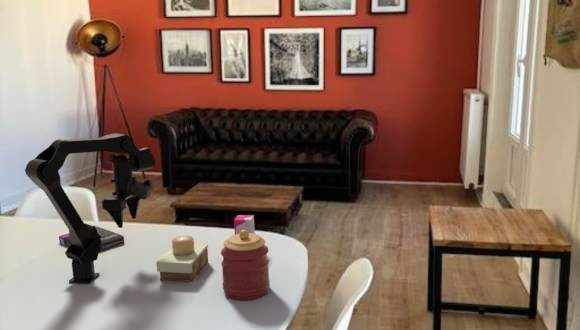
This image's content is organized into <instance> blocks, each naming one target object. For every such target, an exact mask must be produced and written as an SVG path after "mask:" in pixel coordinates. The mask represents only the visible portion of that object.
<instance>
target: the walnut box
mask: <svg viewBox="0 0 580 330" xmlns="http://www.w3.org/2000/svg"><path fill="white" fill-rule="evenodd" d="M207 265H209V251H208V248H207V249H206V250H205V251H204V252H203V253H202V254H201V255H200V256H199V258H198V259H197V260H196V261H195V262H194V263H193V264H192V270H193V272H192V273H175V272H159V277H160V279H159V280H161V281H176V282H177V281H178V282H179V281H180V282H194V281H195V280H196V278H197V277H198V276H199V275H200V274H201V272H203V270H204V269H205V267H206V266H207Z"/></svg>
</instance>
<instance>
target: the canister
mask: <svg viewBox="0 0 580 330" xmlns="http://www.w3.org/2000/svg"><path fill="white" fill-rule="evenodd" d="M223 246H224V247H223V248H222V249H221V250H220V254H221V256H222V261H221V268H222V269H221V270H222V289H223V293H224V295H225V296H226V297H228V298H230V299H233V300H238V301H250V300H251V301H252V300H255V299H258V298H259V299H260V298H262V297H263V296H265V295H266V294H268V293H269V291H270V285H271V283H270V282H271V281H270V273H269V270H270V269H269V263H270V258H268V253H269V250H270V249H269V247H268V246H267V245H266V240H265V239H264V238H263V237H261V236H259V234H257V233H255V234H252V233H248V231H247V230H241V231H240V233H239V234H236V235H235V234H234V235H233V234H232V235H231V236H229V237H228V238H227V239H225V240H224V241H223Z"/></svg>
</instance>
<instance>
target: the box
mask: <svg viewBox="0 0 580 330" xmlns="http://www.w3.org/2000/svg"><path fill="white" fill-rule="evenodd" d="M93 226H94V227H95V228H96V229H97V232H98V234H99V235H100V236H102V237H101V238H100V239H101V242H102V244H101V247H100V249H99V252H101V250H102V251H105V250H108V249H112V248H114V247H117V246H121V245H123V244H125V236H124V235H122V234H119V233H117V232H114V231H111V230H108V229H106V228H102V227H99V226H98V225H93ZM58 240H59V244H61V245H63V246H65V247H67V248H69V246H70V245H71V240H70V236H69V233H66V234H63V235H62V234H61V235H59V236H58ZM104 249H105V250H104Z"/></svg>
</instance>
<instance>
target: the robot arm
mask: <svg viewBox="0 0 580 330" xmlns="http://www.w3.org/2000/svg"><path fill="white" fill-rule="evenodd" d="M94 152H95V153H97V152H107V153H109V154H108V156H107V157H106V159H105V158H104V161H105V162H106V163H111V165H112V176H113V177H112V178H111V179H110V180H111V181H110V182H111V183H113V185H114V191H112V196H111V195H110V196H108V197H106V198H104V199H103V200H102V201H101V209H102V210H104V211H106V212H107V213H108V214H109V215H110V217H111V218H112V219H113V222H114V223H115V224H116V226H117V227H118V228H119V229H120V228H121V229H122V228H123V227H124V211H125V210H126V209H127V208H128V211H129V214H130V216H131V219H136V218H137V215H138V211H139V206H140V202H141V200H147V198H150V197H151V194H152V191H154V185H153V181H152V180H151V179H146V180H144V181H138V179H137V177H136V175H134V172H140V171H145V170H150V169H153V168H154V167H155V166H156V158H155V157H154V154H153V153H152V152H151V147H143V148H140V149H139V148H138V147H137V145H136V144H135V143H134V140H133V138H132V137H131V136H130V135H128V134H123V133H122V134H121V133H116V132H115V133H110V134H106V135H103V136H100V137H98V138H94V137H93V138H77V139H55V140H53V142H52V143H51V144H50V145H49V146H48V147H47V148H45V149H44V150H42V151H41V152H39V154H37V155H36V157H34V158H33V159H30V161H28V163H27V164H26V166H25V169H24V171H25V174H26V176H27V178H29V180H30V181H32V182H33V184H34V185H36V186H37V188H39V189H41V190H42V191H43V192H44V193H45V195H46V196H47V199H49V202H50V203H51V204H52V205H53V207H54V208H55V210H56V212H57V214H58V216H59V217H60V218H61V220H62V221H63V223H64V224H65V226H66V227H67V229H68V234H69V236H70V240H71V245H70V246H69V247H67V249H66V251H65V253H64V254H65V256H66V258H67V259H70V260H71V269H72V277H71V278H70V279H69V280H68V282H69V283H75V284H76V283H77V284H90V283H91V282H93V281H94V280H95V279H96V278H97V277H98V276H100V273H99V272H95V262H94V261H97V260H98V257H99V252H100V251H99V249H100V247H101V244H102V242H101V239H100V238H101V237H102V236H100V235H99V234H98V232H97V229H96V228H95V227H94V226H95V225H91V224H88V223H85V222H84V221H83V219H82V218H81V216H80V214H79V213H78V211H77V210H76V209H77V208H75V206H74V204H73V203H72V201H71V200H70V198H69V196H68V195H67V193H66V192H65V190H64V188H63V186H62V184H61V183H62V181H61V176H60V173H59V171H60V169H61V168H62V167H63V166H64V163H65V161H66V160H67V157H68V156H69V155H70V154H83V153H85V154H87V153H94ZM113 153H115V154H113ZM116 154H117V155H116ZM126 155H127V156H126ZM133 171H134V172H133Z"/></svg>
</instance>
